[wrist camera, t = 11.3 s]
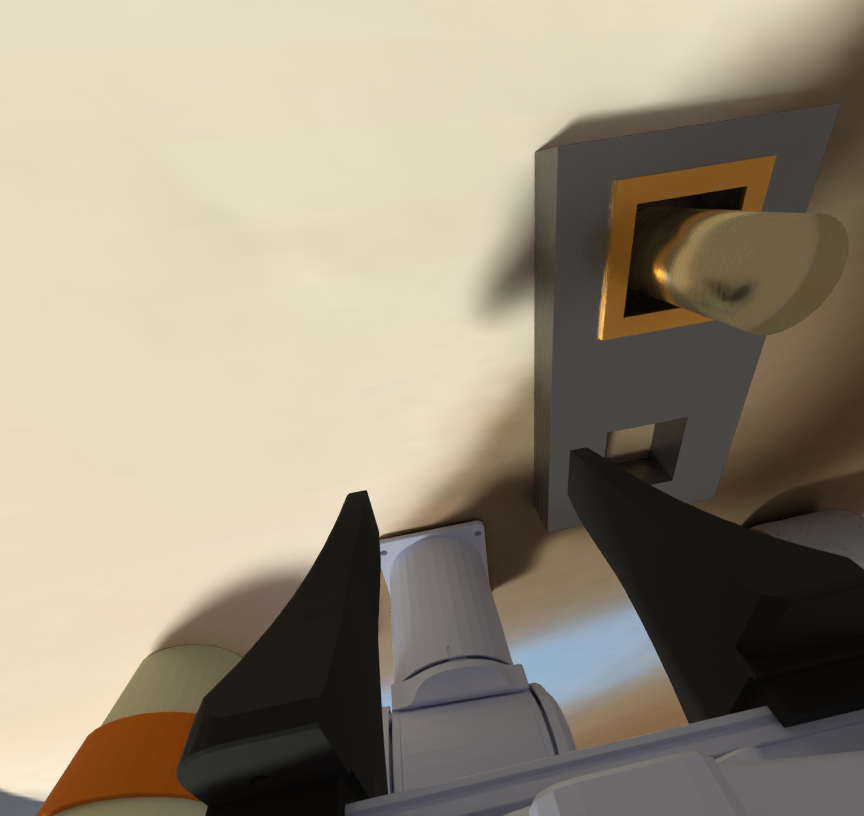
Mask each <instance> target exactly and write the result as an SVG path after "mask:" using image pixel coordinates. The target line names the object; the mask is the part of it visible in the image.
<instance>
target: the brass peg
mask: <svg viewBox="0 0 864 816" xmlns="http://www.w3.org/2000/svg"><path fill="white" fill-rule="evenodd" d="M847 255H848V237H847V233H846V230H845V228H844V226H843V225H842V224H841V222H840V221H838V220H837V219H836V218H834V217H832V216H829V215H825V214H811V213H789V212H766V211H744V210H721V209H699V208H676V207H650V208H646V209H643V210H641V211H639V212H637V213H636V219H635V227H634V235H633V244H632V252H631V260H630V268H629V276H628V285H627V288H629V289H632V290H635V291H638V292H640V293H643V294H646V295H648V296H651V297H654V298H656V299H659V300H662V301H665V302H667V303H670V304H673V305H675V306H678V307H681V308H684V309H686V310H689V311H692V312H694V313H697V314H700V315H702V316H705V317H708V318H711V319H713V320H716V321H719V322H721V323H724V324H727V325H729V326H732V327H735V328H738V329H740V330H743V331H746V332H748V333H751V334H755V335H770V334H775V333H779V332H781V331H784V330H786V329H788V328H791V327H792V326H794V325H796V324H798V323H799V322H801V321H802V320H804V319H805V318H806V317H808V316H809V315H810V314H811V313H812V312H813V311H815V310H816V309H817V308H818V307H819V306H820V305H821V303H822V302H823V301H824V300H825V299H826V298H827V296H828V295H829V294H830V293H831V291H832V290H833V288H834V287H835V285H836V283H837V282H838V280H839V278H840V276H841V274H842V271H843V269H844V266H845V263H846V259H847Z"/></svg>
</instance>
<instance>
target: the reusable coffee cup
mask: <svg viewBox="0 0 864 816" xmlns="http://www.w3.org/2000/svg"><path fill="white" fill-rule="evenodd" d="M241 659H242V657H241V656H239V655H238V654H236V653H234V652H232V651H229V650H226V649H223V648H219V647H214V646H207V645H182V646H175V647H170V648H166V649H163V650H160V651H157V652H155V653H153V654H152V655H150V656H148V657H147V658H146V659H145V660H143V661H142V663H141V664H140V666H139V667H138V669H137V670H136V672H135V674H134V675H133V677H132V678H131V680H130V681H129V683H128V685H127V686H126V688H125V689H124V691H123V692H122V694H121V696H120V697H119V699H118V700H117V702H116V703H115V705H114V707H113V708H112V710H111V711H110V713H109V714H108V716H107V718H106V719H105V721H104V722H103V724H102V725H101V727H99V728H97V729H95V730H94V731H93V732H92V733H91V734H89V735H88V736H87V738H86V739H85V741H84V742H83V744H82V745H81V747H80V749H79V750H78V752H77V753H76V755H75V756H74V758H73V759H72V761H71V762H70V764H69V765H68V767H67V769H66V770H65V772H64V773H63V775H62V776H61V778H60V779H59V781H58V782H57V784H56V785H55V787H54V789H53V790H52V792H51V793H50V795H49V796H48V798H47V799H46V801H45V802H44V804H43V806H42V807H41V809H40V810H39V812H38V813H37V815H36V816H205V814H206V811H207V807H208V806H207V805H205V804H204V803H203V802H202V801H200V800H199V799H198V798H196V797H195V796H194V795H192V794H191V793H190V792H189V791H187V790H186V789H185V788H184V787H183V786H182V785H181V784H180V783H179V781H178V779H177V775H176V769H177V766H178V764H179V761H180V758H181V755H182V752H183V749H184V746H185V743H186V740H187V737H188V734H189V731H190V728H191V726H192V723H193V720H194V718H195V716H196V713H197V711H198V709H199V707H200V705H201V702H202V699H203V697H205V696H206V695H207V694H208V693H209V692H210V691H211V690H212V689H213V688H214V687H215V686H216V685H217V684H218V683H219V682H220V681H221V680H222V679H223V678H224V677H225V676H226V675H227V674H228V673H229V672H230V671H231V670H232V669H233V668H234V667H235V666H236V665H237V664H238V663H239V662H240V660H241Z"/></svg>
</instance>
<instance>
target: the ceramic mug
mask: <svg viewBox="0 0 864 816" xmlns="http://www.w3.org/2000/svg"><path fill="white" fill-rule="evenodd" d="M750 529H751V530H754V531H757V532H760V533H763V534H766V535H769V536H773V537H776V538H779V539H782V540H785V541H789V542H792V543H795V544H799V545H803V546H806V547H810V548H814V549H818V550H822V551H826V552H829V553H833V554H837V555H841V556H845V557H848V558H850V559H851V560H853V561H854V562H855V563H857V564H858V565H859V566H860V567H862V568H863V569H864V517H863V516H861V515H858V514H856V513H853V512H850V511H846V510H840V509H827V510H823V511H818V512H814V513H809V514H805V515H800V516H795V517H791V518H788V519H784V520H779V521H774V522H770V523H765V524H760V525H757V526H754V527H752V528H750Z"/></svg>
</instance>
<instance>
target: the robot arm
mask: <svg viewBox="0 0 864 816" xmlns="http://www.w3.org/2000/svg"><path fill="white" fill-rule="evenodd" d="M567 494H568V496H569V499H570V501H571V503H572V505H573V507H574V509H575V511H576V513H577V515H578V517H579V519H580V521H581V522H582V524H583V525H584V527H585V528H586V530H587V532H588V533H589V535H590V536H591V538H592V539H593V541H594V542H595V544H596V545H597V547H598V548H599V550H600V551H601V553H602V554H603V556H604V557H605V559H606V560H607V562H608V563H609V565H610V566H611V568H612V569H613V571H614V572H615V574H616V576H617V577H618V579H619V581H620V582H621V584H622V585H623V587H624V589H625V591H626V593H627V595H628V597H629V598H630V600H631V602H632V604H633V606H634V608H635V610H636V612H637V614H638V615H639V617H640V619H641V621H642V623H643V625H644V627H645V629H646V631H647V633H648V635H649V637H650V639H651V641H652V643H653V645H654V647H655V650H656V652H657V654H658V656H659V658H660V660H661V662H662V664H663V667H664V669H665V671H666V673H667V675H668V677H669V679H670V681H671V684H672V686H673V688H674V691H675V693H676V695H677V697H678V700H679V702H680V704H681V706H682V709H683V711H684V713H685V715H686V718H687V720H688V723H689V724H687V725H682V726H678V727H674V728H670V729H665V730H661V731H657V732H652V733H648V734H644V735H640V736H635V737H631V738H627V739H623V740H618V741H614V742H610V743H606V744H601V745H597V746H593V747H588V748H584V749H580V750H577V749H576V746H575V743H574V740H573V737H572V734H571V731H570V729H569V726H568V724H567V721H566V719H565V717H564V715H563V713H562V711H561V709H560V707H559V705H558V704H557V702H556V701H555V699H554V698H553V697H552V696H551V695H550V694H549V693H548V692H546V690H545V689H544V688H543V687H542V686H541V685H540V684H538V683H531V684H528V682H527V678H526V675H525V672H524V669H523V666H522V665H521V664H517V665H513V662H512V659H511V656H510V652H509V649H508V646H507V642H506V639H505V635H504V632H503V629H502V625H501V622H500V619H499V615H498V612H497V608H496V605H495V602H494V598H493V595H492V592H491V588H490V585H489V575H488V564H487V554H486V543H485V533H484V526H483V523H482V522H481V521H472V522H467V523H462V524H457V525H452V526H447V527H442V528H437V529H432V530H427V531H422V532H417V533H412V534H407V535H402V536H397V537H392V538H387V539H382V540H380V539H379V530H378V527H377V523H376V520H375V517H374V513H373V510H372V506H371V503H370V500H369V496H368V493H367V490H364V491H359V492H354V493H349V494H348V495H347V497H346V499H345V502H344V504H343V507H342V509H341V512H340V514H339V516H338V518H337V520H336V523H335V525H334V527H333V529H332V531H331V533H330V535H329V537H328V539H327V541H326V543H325V545H324V547H323V549H322V550H321V552H320V554H319V556H318V557H317V559H316V561H315V563H314V564H313V566H312V568H311V569H310V571H309V573H308V574H307V576H306V578H305V579H304V581H303V582H302V584H301V585H300V587H299V588H298V590H297V591H296V593H295V594H294V595H293V597H292V598H291V600H290V601H289V602H288V604H287V605H286V606H285V608H284V609H283V610H282V612H281V613H280V614H279V616H278V617H277V618H276V620H275V621H274V622H273V623H272V625H271V626H270V627H269V628H268V630H267V631H266V632H265V633H264V634H263V635H262V637H261V638H260V639H259V640H258V641H257V642H256V643H255V645H254V646H253V647H252V648H251V649H250V650H249V652H248V653H247V654H246V655H245V656H244V657H243V658H242V659H241V660H240V662H239V663H238V664H237V665H236V666H235V667H234V668H233V669H232V670H231V671H230V672H229V673H228V674H227V675H226V676H225V677H224V678H223V679H222V680H221V681H220V682H219V683H218V684H217V685H216V686H215V687H214V688H213V689H212V690H211V691H210V692H209V693H208V694H207V695H206V696H205V697H203V699H202V702H201V705H200V707H199V709H198V711H197V713H196V716H195V718H194V720H193V723H192V726H191V728H190V731H189V734H188V737H187V740H186V743H185V746H184V749H183V752H182V755H181V758H180V761H179V764H178V766H177V769H176V775H177V779H178V781H179V783H180V784H181V785H182V786H183V787H184V788H185V789H186V790H187V791H189V792H190V793H191V794H192V795H194V796H195V797H196V798H198V799H199V800H200V801H202V802H203V803H204V804H205V805H207V806H208V807H207V811H206V814H205V816H864V569H863V568H862V567H860V566H859V565H858V564H857V563H855V562H854V561H853V560H851V559H850V558H848V557H845V556H841V555H837V554H833V553H829V552H826V551H822V550H818V549H814V548H810V547H806V546H803V545H799V544H795V543H792V542H789V541H785V540H782V539H779V538H776V537H773V536H769V535H766V534H763V533H760V532H757V531H754V530H751V529H748V528H746V527H743V526H740V525H738V524H735V523H732V522H730V521H727V520H724V519H722V518H719V517H717V516H714V515H712V514H709V513H707V512H705V511H702V510H700V509H698V508H696V507H694V506H691V505H689V504H687V503H685V502H683V501H680V500H678V499H676V498H674V497H672V496H670V495H668V494H667V493H665V492H663V491H661V490H659V489H657V488H655V487H653V486H651V485H650V484H648V483H646V482H644V481H642V480H641V479H639V478H637V477H635V476H634V475H632V474H630V473H629V472H627V471H625V470H624V469H622V468H620V467H619V466H617V465H615V464H614V463H612V462H611V461H609V460H607V459H606V458H604V457H602V456H601V455H599V454H597V453H596V452H594V451H592V450H591V449H589V448H587V447H585V448H580V449H575V450H570V458H569V475H568V492H567ZM477 531H479V532H477ZM384 550H385V551H384ZM381 568H382V571H383V575H384V578H385V581H386V584H387V587H388V591H389V594H390V597H391V621H392V645H393V669H394V684H392V685H391V692H392V713H391V710H390V706H388V707H382V704H381V687H380V669H379V648H378V618H379V595H380V572H381Z"/></svg>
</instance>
